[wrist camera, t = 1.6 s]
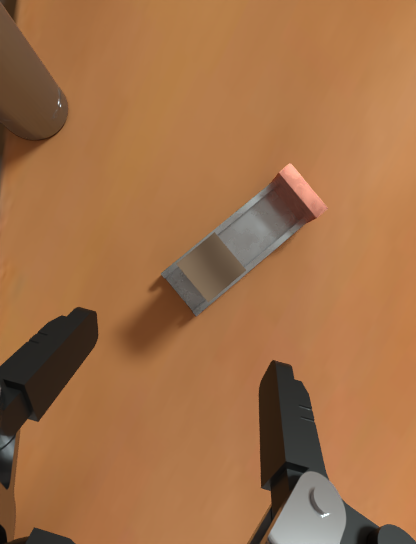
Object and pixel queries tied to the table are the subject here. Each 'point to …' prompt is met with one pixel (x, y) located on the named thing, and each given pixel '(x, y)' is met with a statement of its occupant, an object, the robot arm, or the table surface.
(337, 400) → the table surface
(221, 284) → the slider block
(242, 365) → the table surface
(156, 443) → the table surface
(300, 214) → the track
